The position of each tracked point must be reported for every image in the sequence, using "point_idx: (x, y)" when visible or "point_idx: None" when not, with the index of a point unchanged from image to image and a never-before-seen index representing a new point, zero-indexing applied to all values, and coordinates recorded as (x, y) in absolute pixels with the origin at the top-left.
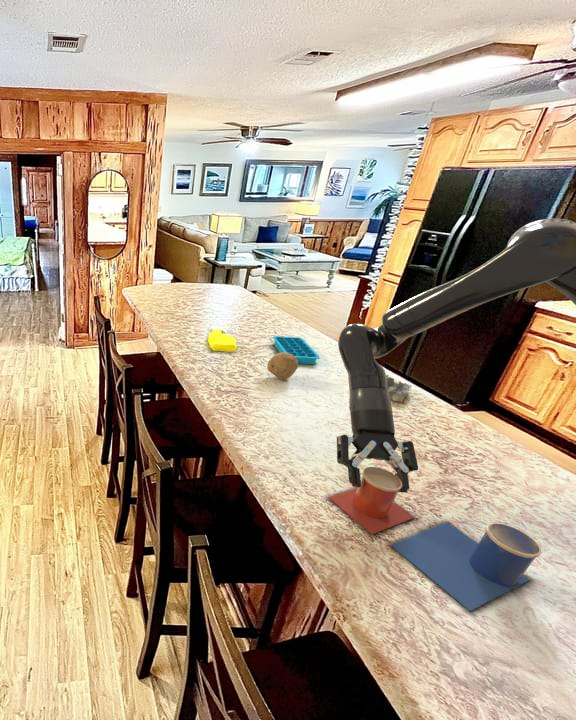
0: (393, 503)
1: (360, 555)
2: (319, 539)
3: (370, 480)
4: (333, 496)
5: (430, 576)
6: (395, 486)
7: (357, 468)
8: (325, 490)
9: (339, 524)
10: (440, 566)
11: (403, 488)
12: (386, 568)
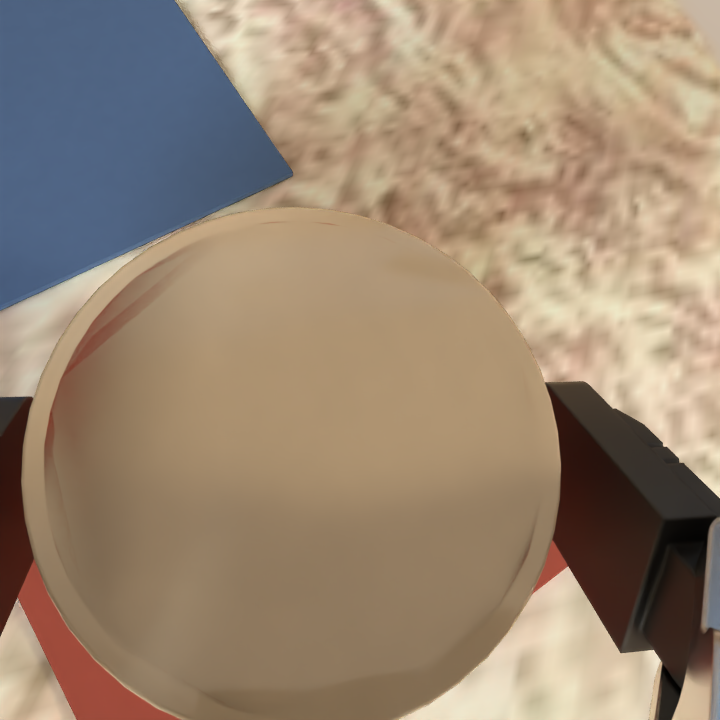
0: (43, 607)
1: (492, 97)
2: (686, 165)
3: (504, 342)
4: (557, 566)
5: (172, 8)
6: (196, 275)
7: (687, 514)
8: (601, 647)
9: (558, 291)
10: (66, 65)
11: (19, 406)
12: (383, 41)
